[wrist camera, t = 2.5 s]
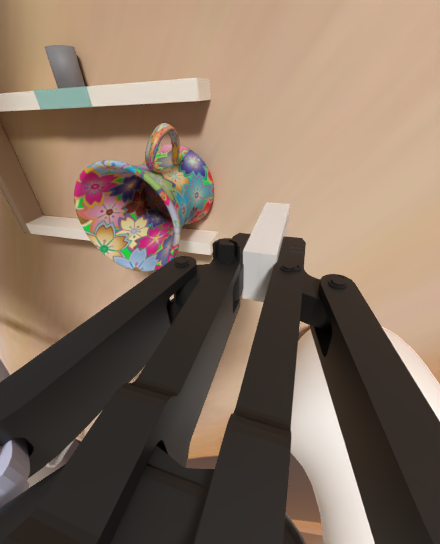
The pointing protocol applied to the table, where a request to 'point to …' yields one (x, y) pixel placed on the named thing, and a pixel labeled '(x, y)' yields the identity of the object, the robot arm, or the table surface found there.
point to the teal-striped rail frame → (74, 94)
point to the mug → (144, 202)
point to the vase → (338, 440)
